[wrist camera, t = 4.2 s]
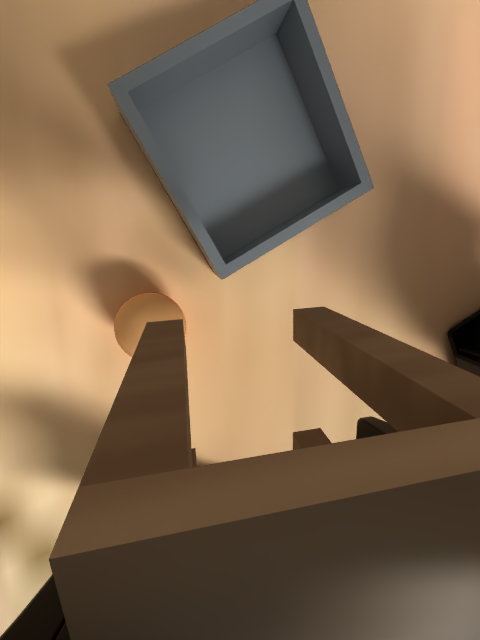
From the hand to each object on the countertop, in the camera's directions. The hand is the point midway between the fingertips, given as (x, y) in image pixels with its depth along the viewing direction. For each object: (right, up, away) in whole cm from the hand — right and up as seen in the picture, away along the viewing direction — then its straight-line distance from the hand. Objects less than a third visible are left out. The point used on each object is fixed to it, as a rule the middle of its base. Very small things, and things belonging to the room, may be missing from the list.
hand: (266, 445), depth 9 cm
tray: (-1, +13, +9) cm, 16 cm away
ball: (-6, +3, +9) cm, 11 cm away
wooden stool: (-1, +1, +3) cm, 3 cm away
